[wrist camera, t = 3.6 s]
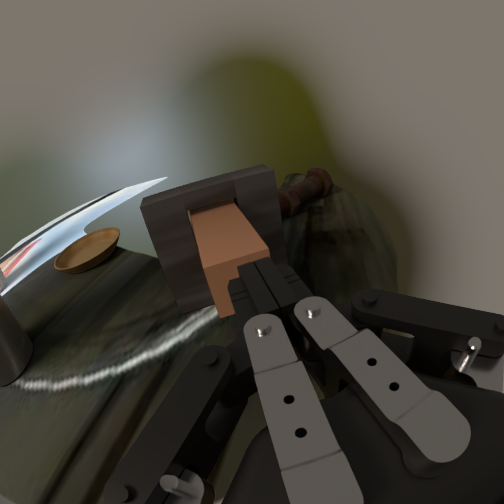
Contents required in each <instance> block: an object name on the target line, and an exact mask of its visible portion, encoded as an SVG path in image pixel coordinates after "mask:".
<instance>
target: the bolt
mask: <svg viewBox="0 0 504 504" xmlns="http://www.w3.org/2000/svg"><path fill="white" fill-rule="evenodd" d="M332 186H333V182H332V179H331V177H330V175H329V174H328V172H327V171H326V170H324V169H320V168H311V169H309V170H308V172H307V175H306V177H305V180H304V181H302V182H300V183H298V184H297V185H295V186H293V187H292V188H286V187H280V188H278V189H277V192H278V199H279V205H280V212H281V217H282V216H293V215H295V214H296V213H297V211H298V209H299V207H300V204H302V203H303V202H305V201H306V200H308V199H309V198H311V197H313V196H314V195H317V196H323V197H325V196H327V195H328V194H329V192H330V190H331V188H332Z"/></svg>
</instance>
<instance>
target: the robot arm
mask: <svg viewBox="0 0 504 504" xmlns="http://www.w3.org/2000/svg"><path fill="white" fill-rule="evenodd" d="M237 270H238V274H239V277H238V278H235V279H232V280H229V283H228V287H227V289H228V293H229V296H230V299H231V302H232V305H233V308H234V311H235V314H236V317H237V320H238V323H239V325H240V328H241V331H240V334H239V336H238V338H237V339H236V340H235V341H234V342H233V343H231V344H230V345H228V346H227V347H225V348H224V347H222V346H217V345H212V346H207V347H204V348H202V349H200V350H199V351H198V352H197V353H195V355H194V356H193V357H192V359H191V360H190V362H189V363H188V365H187V366H186V368H185V369H184V371H183V372H182V374H181V375H180V377H179V378H178V380H177V381H176V383H175V384H174V386H173V387H172V388H171V390H170V391H169V393H168V394H167V396H166V397H165V399H164V400H163V402H162V403H161V405H160V406H159V408H158V409H157V410H156V412H155V413H154V415H153V416H152V418H151V419H150V421H149V422H148V424H147V425H146V427H145V428H144V429H143V431H142V432H141V434H140V435H139V437H138V438H137V440H136V441H135V442H134V444H133V445H132V447H131V448H130V450H129V451H128V453H127V454H126V455H125V457H124V458H123V460H122V461H121V463H120V464H119V466H118V467H117V468H116V470H115V471H114V473H113V474H112V476H111V477H110V478H109V480H108V481H107V483H106V485H105V487H104V493H103V494H104V499H105V502H106V504H213V503H214V500H215V489H214V487H213V486H212V484H211V483H210V482H209V481H207V479H208V477H209V476H210V474H211V472H212V470H213V468H214V467H215V465H216V463H217V461H218V459H219V457H220V456H221V454H222V452H223V450H224V448H225V446H226V444H227V442H228V441H229V439H230V437H231V435H232V433H233V431H234V429H235V427H236V425H237V423H238V421H239V419H240V417H241V415H242V413H243V411H244V409H245V407H246V405H247V403H248V397H250V396H251V395H253V394H254V393H255V392H257V391H258V392H259V396H260V400H261V403H262V407H263V410H264V414H265V418H266V421H267V426H266V427H265V428H264V429H262V430H261V431H260V432H259V433H258V434H257V435H256V436H255V438H254V439H253V440H252V441H251V443H250V445H249V446H248V448H247V450H246V452H245V454H244V457H243V459H242V461H241V463H240V466H239V468H238V470H237V472H236V474H235V476H234V479H233V481H232V483H231V485H230V487H229V489H228V491H227V493H226V495H225V497H224V499H223V501H222V503H221V504H504V394H503V393H502V384H503V364H504V363H503V362H504V360H503V359H504V316H503V315H500V314H495V313H490V312H485V311H480V310H475V309H470V308H465V307H460V306H455V305H450V304H445V303H440V302H435V301H430V300H426V299H420V298H416V297H411V296H406V295H401V294H397V293H392V292H387V291H382V290H378V289H372V288H366V289H362V290H359V291H357V292H356V293H355V294H354V295H353V297H352V302H351V303H346V304H339V305H332V304H331V303H330V302H329V301H328V300H326V299H324V298H322V297H315V296H314V295H313V294H312V293H311V291H310V290H309V289H308V287H307V286H306V285H305V284H304V282H303V281H302V280H301V279H300V277H299V276H298V275H297V274H296V272H295V271H294V270H293V269H292V267H290V266H288V265H286V264H284V263H281V264H278V265H275V264H274V263H273V262H272V260H271V259H270V257H269V256H268V257H264V258H261V259H258V260H255V261H253V262H249V263H246V264H242V265H239V266H237ZM383 328H387V329H392V330H396V331H400V332H405V333H409V334H412V335H413V336H414V337H413V338H408V337H403V336H399V335H395V334H391V333H387V332H383ZM293 347H296V349H297V351H298V353H299V354H300V359H301V360H298V359H297V357H296V354H295V352H294V350H293ZM32 351H33V344H32V341H31V340H30V338H29V337H28V336H27V334H26V333H25V331H24V330H23V329H22V327H21V326H20V324H19V323H18V322H17V320H16V318H15V317H14V315H13V314H12V312H11V311H10V309H9V308H8V306H7V305H6V303H5V301H4V300H3V298H2V296H1V295H0V386H4V385H7V384H9V383H11V382H12V381H14V380H15V379H16V378H17V377H18V376H19V375H20V374H21V373H22V372H23V370H24V369H25V367H26V366H27V364H28V362H29V360H30V358H31V355H32ZM303 364H304V365H305V367H306V368H307V370H308V371H309V373H310V374H311V376H312V377H313V379H314V380H315V382H316V383H317V384H318V386H319V387H320V389H321V390H322V392H323V394H324V396H325V399H323V400H319V399H318V397H317V395H316V393H315V390H314V388H313V386H312V383H311V381H310V379H309V376H308V374H307V372H306V370H305V367H304V365H303Z"/></svg>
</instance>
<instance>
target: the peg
mask: <svg viewBox="0 0 504 504" xmlns="http://www.w3.org/2000/svg"><path fill="white" fill-rule="evenodd" d="M190 214H191V219H192V223H193V228H194V232H195V236H196V241H197V245H198V249H199V253H200V258H201V262H202V266H203V270H204V273H205V276H206V279H207V282H208V285H209V288H210V291H211V293H212V296H213V299H214V302H215V305H216V308H217V311H218V314H219V316H220V318H223V317H226V316H229V315H232V314H235V311H234V308H233V305H232V302H231V299H230V296H229V293H228V289H227V287H228V283H229V280H232V279H235V278H238V277H239V274H238V270H237V266H239V265H242V264H246V263H249V262H253V261H255V260H258V259H261V258H264V257H268V256H269V257H270V253H269V248H268V247H267V245H266V244H265V243H264V241H263V240H262V239H261V237H260V236H259V235H258V233H257V232H256V231H255V229H254V228H253V227H252V225H251V224H250V223H249V222H248V220H247V219H246V218H245V216H244V215H243V214H242V212H241V211H240V210H239V208H238V207H237V206H236V204H235V203H234V202H233V201H232V199H227V200H224V201H220V202H217V203H213V204H210V205H206V206H203V207H199V208H196V209H192V210H190Z"/></svg>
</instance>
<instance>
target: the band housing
mask: <svg viewBox="0 0 504 504" xmlns="http://www.w3.org/2000/svg"><path fill="white" fill-rule="evenodd" d="M227 199H232V201H233V202H234V203H235V204H236V206H237V207H238V208H239V210H240V211H241V212H242V214H243V215H244V216H245V218H246V219H247V220H248V222H249V223H250V224H251V225H252V227H253V228H254V229H255V231H256V232H257V233H258V235H259V236H260V237H261V239H262V240H263V241H264V243H265V244H266V245H267V247H268V248H269V253H270V259H271V260H272V262H273V263H274V264H275V265H278V264H281V263H284V264H286V265H288V261H287V253H286V246H285V239H284V232H283V225H282V218H281V212H280V205H279V199H278V192H277V186H276V180H275V173H274V170H273V169H271V168H269V167H267V166H265V165H258V166H254V167H250V168H246V169H242V170H238V171H234V172H230V173H226V174H222V175H219V176H215V177H211V178H207V179H204V180H200V181H197V182H193V183H190V184H186V185H183V186H179V187H176V188H173V189H170V190H166V191H163V192H160V193H157V194H154V195H151V196H148V197H145V198H143V200H142V203H141V206H140V209H141V212H142V215H143V218H144V221H145V224H146V226H147V229H148V232H149V235H150V237H151V240H152V242H153V245H154V248H155V251H156V253H157V256H158V258H159V261H160V263H161V266H162V268H163V271H164V273H165V276H166V278H167V281H168V283H169V285H170V288H171V290H172V293H173V295H174V297H175V299H176V302H177V304H178V306H179V309H180V311H181V313H182V314H184V313H187V312H190V311H194V310H197V309H201V308H204V307H207V306H210V305H214V304H215V302H214V299H213V296H212V293H211V291H210V288H209V285H208V282H207V279H206V276H205V273H204V270H203V266H202V262H201V258H200V253H199V249H198V245H197V241H196V236H195V232H194V228H193V223H192V219H191V214H190V210H192V209H196V208H199V207H203V206H206V205H210V204H213V203H217V202H220V201H224V200H227Z"/></svg>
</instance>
